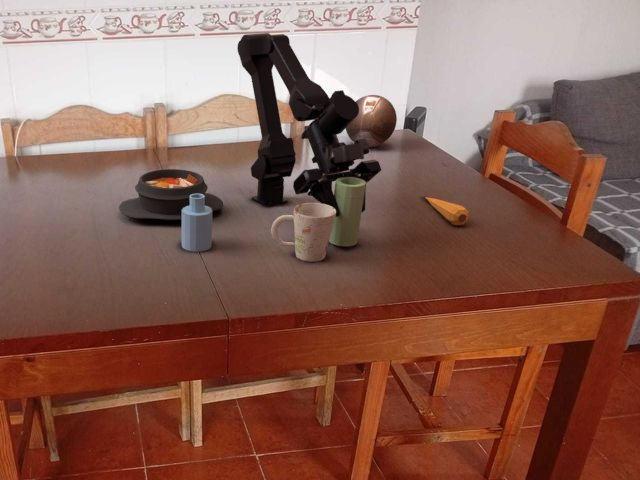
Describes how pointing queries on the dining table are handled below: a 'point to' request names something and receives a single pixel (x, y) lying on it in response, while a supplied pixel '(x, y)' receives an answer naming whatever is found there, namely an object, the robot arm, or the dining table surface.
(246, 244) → the dining table surface
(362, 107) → the bronze metallic sphere
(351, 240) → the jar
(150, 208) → the casserole
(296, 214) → the mug
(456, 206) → the carrot
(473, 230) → the dining table surface
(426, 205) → the dining table surface
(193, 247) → the bottle
